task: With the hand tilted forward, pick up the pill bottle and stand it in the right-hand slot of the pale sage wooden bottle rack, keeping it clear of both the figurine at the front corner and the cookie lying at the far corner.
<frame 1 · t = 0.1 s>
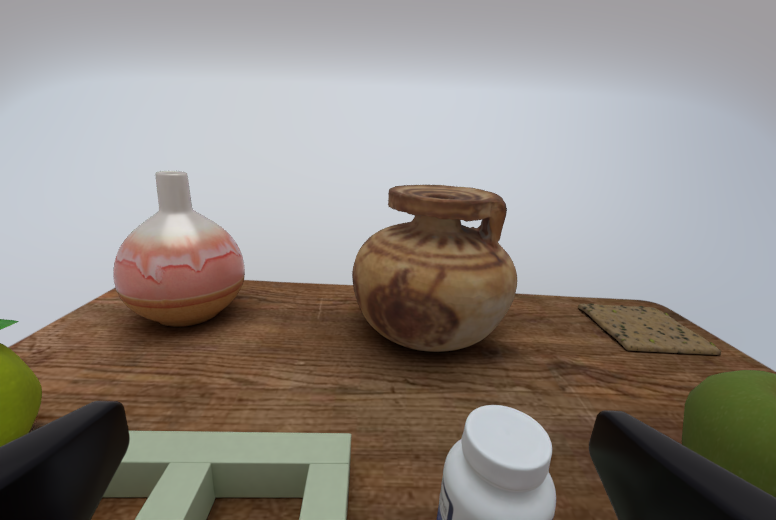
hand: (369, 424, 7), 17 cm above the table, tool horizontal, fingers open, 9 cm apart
vase: (189, 316, 46), on the table
clay pot: (426, 331, 46), on the table
cookie: (641, 329, 49), on the table
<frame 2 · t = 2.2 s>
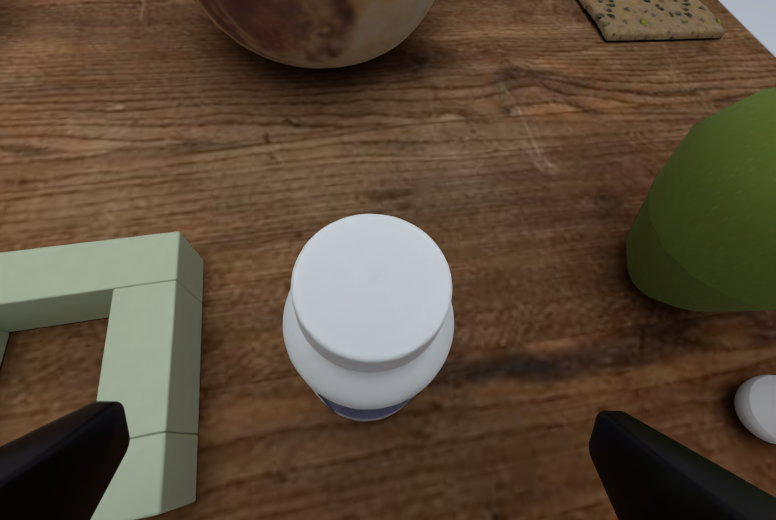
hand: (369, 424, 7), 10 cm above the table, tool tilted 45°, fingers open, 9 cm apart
apple: (649, 277, 21), on the table
clay pot: (323, 31, 29), on the table
pill bottle: (366, 362, 18), on the table
cookie: (633, 3, 35), on the table
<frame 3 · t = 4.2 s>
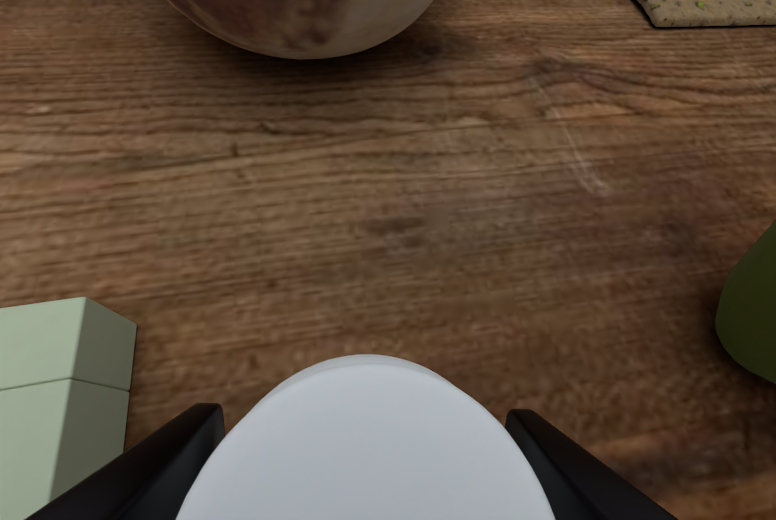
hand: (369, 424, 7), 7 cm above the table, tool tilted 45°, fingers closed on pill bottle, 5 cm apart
apple: (743, 339, 16), on the table
clay pot: (311, 14, 24), on the table
pill bottle: (362, 478, 12), on the table, touching gripper
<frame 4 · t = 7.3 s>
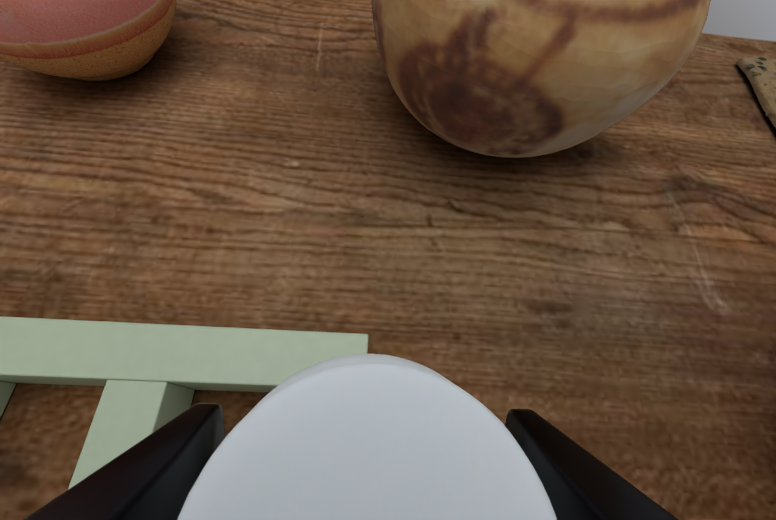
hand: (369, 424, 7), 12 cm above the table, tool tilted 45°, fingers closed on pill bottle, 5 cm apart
vase: (111, 56, 29), on the table
clay pot: (486, 105, 29), on the table
pill bottle: (362, 478, 12), point 5 cm above the table, touching gripper
rack: (150, 457, 17), on the table
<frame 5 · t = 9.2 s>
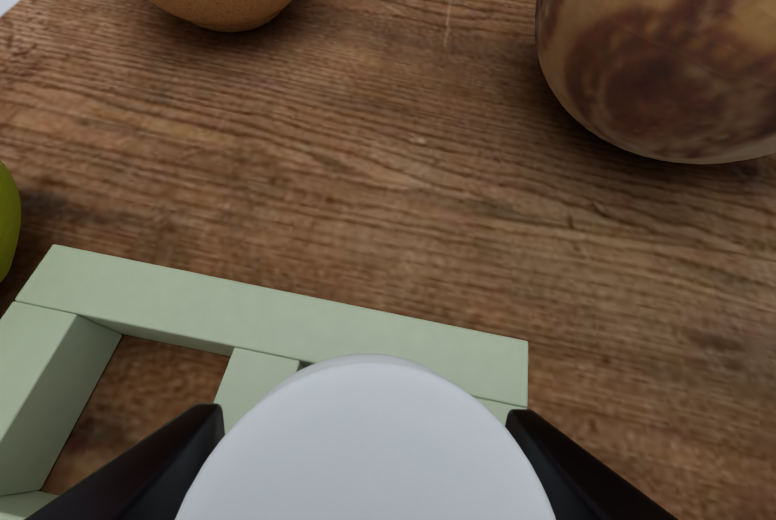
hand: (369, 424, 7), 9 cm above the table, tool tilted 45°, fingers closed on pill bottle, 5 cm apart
vase: (235, 9, 27), on the table
clay pot: (631, 103, 26), on the table
pill bottle: (362, 477, 12), point 2 cm above the table, touching gripper
rack: (258, 442, 15), on the table
when the fingers open (7 cm above the table, at t = 10.5 s): pill bottle stays where it is, resting in rack.
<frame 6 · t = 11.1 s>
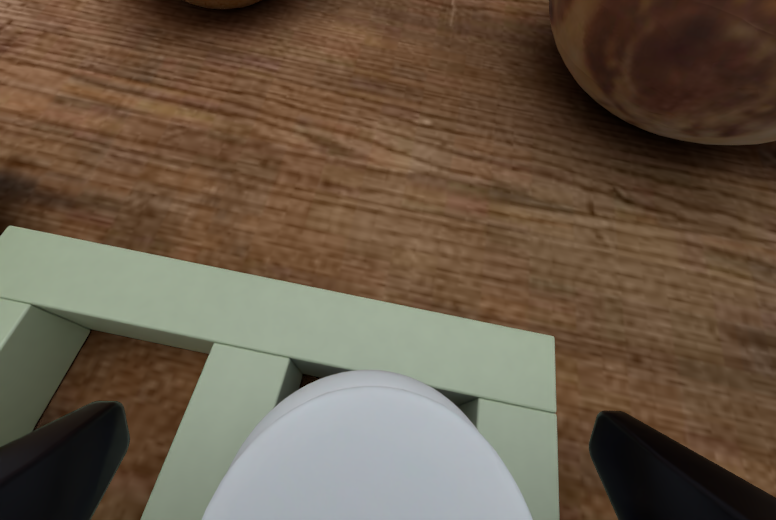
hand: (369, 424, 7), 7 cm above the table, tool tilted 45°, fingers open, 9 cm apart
clay pot: (650, 85, 24), on the table
pill bottle: (362, 483, 13), resting in rack
rack: (243, 453, 13), on the table
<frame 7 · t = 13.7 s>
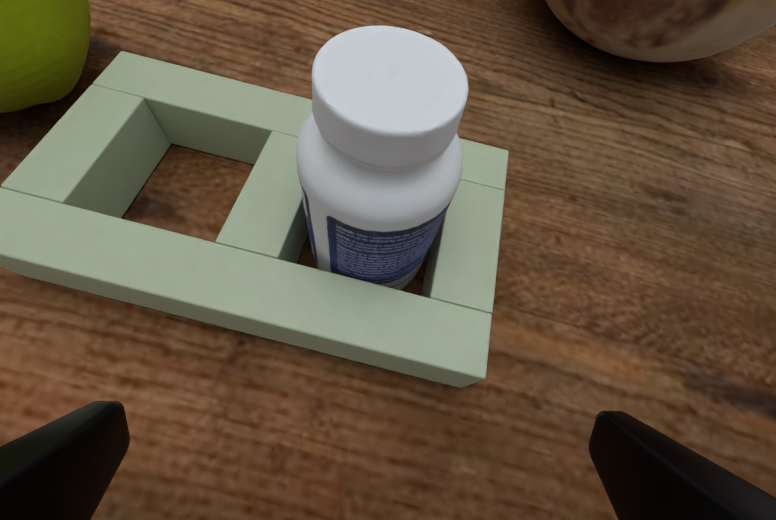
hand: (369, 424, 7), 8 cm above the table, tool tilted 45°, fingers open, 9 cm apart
clay pot: (613, 23, 29), on the table
fruit: (39, 88, 20), on the table
pill bottle: (367, 251, 18), resting in rack
rack: (284, 225, 18), on the table
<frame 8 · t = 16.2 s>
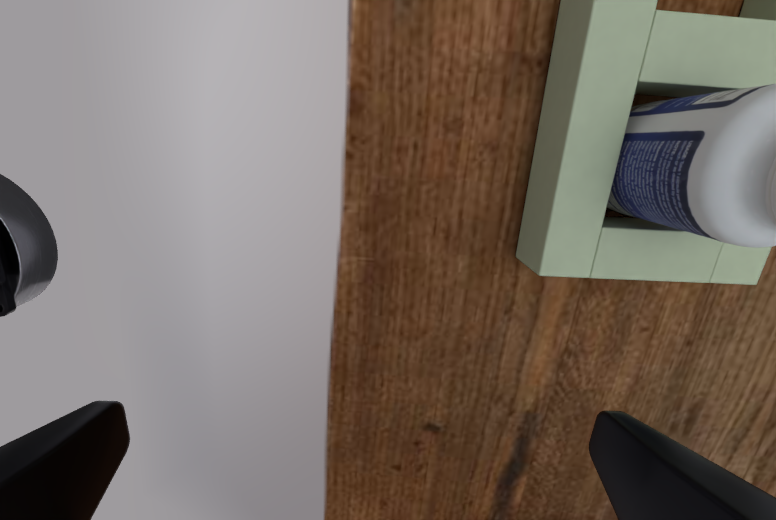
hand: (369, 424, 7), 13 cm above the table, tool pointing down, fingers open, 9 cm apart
pill bottle: (631, 160, 19), resting in rack
rack: (661, 67, 17), on the table
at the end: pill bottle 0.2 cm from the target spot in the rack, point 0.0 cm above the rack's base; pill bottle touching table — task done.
